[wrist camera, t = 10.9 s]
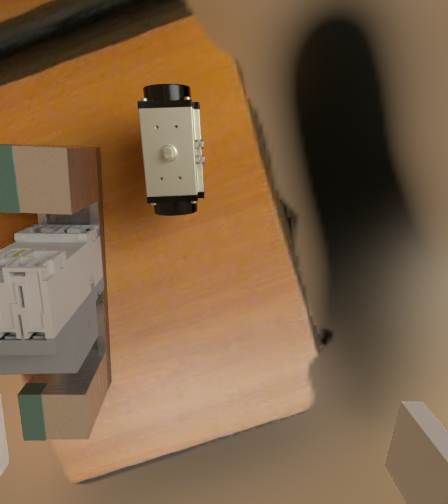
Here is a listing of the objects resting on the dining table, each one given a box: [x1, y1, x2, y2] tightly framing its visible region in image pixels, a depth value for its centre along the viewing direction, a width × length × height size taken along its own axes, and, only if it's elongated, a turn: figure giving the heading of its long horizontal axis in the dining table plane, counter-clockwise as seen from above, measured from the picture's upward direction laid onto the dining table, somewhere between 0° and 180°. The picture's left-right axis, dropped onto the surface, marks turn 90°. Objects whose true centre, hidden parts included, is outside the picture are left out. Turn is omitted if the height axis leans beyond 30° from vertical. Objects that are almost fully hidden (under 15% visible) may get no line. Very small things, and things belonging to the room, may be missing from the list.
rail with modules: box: [0, 144, 111, 440], centre depth 41 cm, size 32×7×11 cm, turn 177°
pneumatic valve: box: [138, 84, 205, 216], centre depth 37 cm, size 6×12×12 cm, turn 2°
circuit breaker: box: [0, 224, 104, 374], centre depth 37 cm, size 8×14×15 cm, turn 179°
